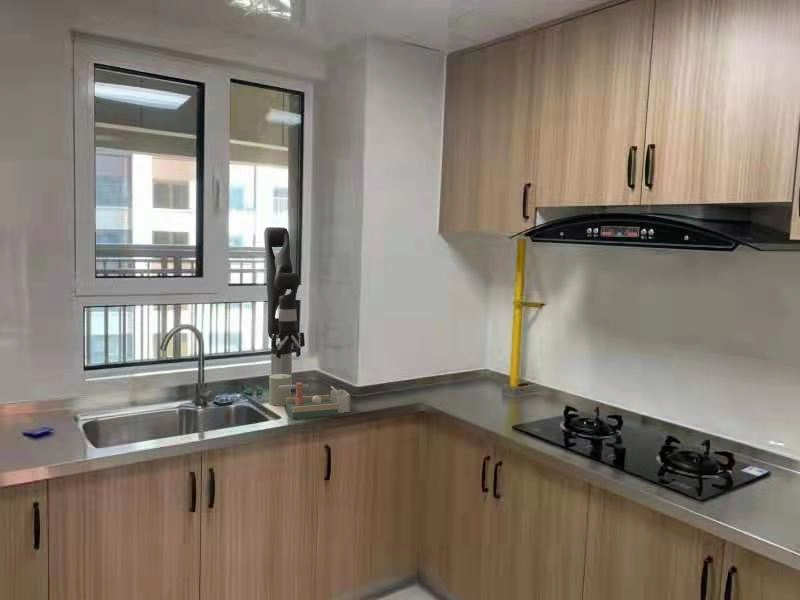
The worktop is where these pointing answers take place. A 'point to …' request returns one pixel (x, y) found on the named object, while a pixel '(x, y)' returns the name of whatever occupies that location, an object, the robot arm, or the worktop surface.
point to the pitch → (311, 407)
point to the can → (276, 394)
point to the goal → (340, 400)
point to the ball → (316, 400)
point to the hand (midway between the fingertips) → (288, 357)
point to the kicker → (297, 392)
